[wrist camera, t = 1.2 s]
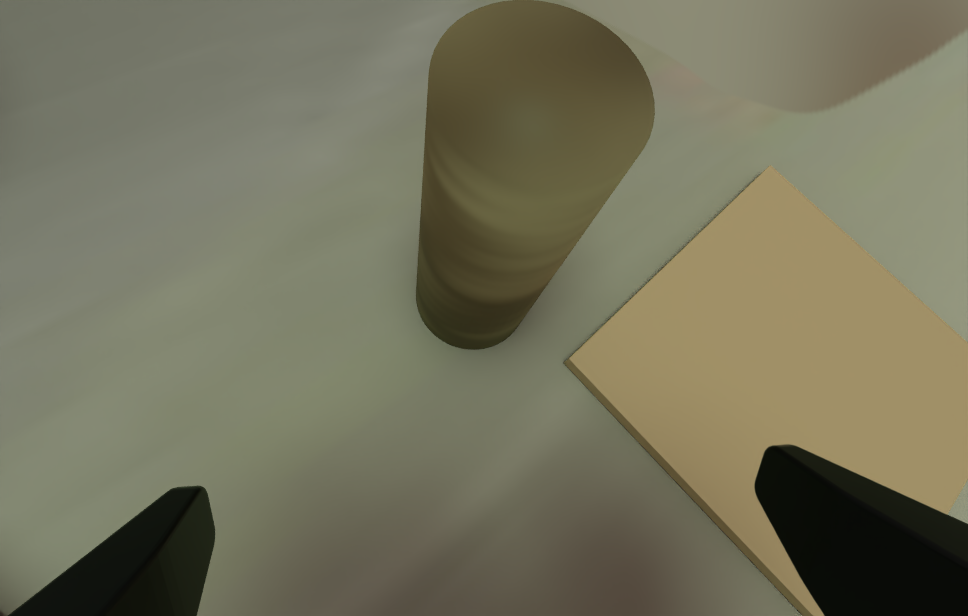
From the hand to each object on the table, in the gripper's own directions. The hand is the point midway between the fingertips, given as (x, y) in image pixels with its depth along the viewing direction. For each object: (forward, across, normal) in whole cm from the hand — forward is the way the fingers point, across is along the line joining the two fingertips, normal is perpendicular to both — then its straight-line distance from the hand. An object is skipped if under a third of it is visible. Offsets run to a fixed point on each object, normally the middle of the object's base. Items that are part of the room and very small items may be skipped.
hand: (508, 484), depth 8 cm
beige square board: (+12, -17, +6) cm, 22 cm away
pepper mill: (+15, -2, +3) cm, 15 cm away
